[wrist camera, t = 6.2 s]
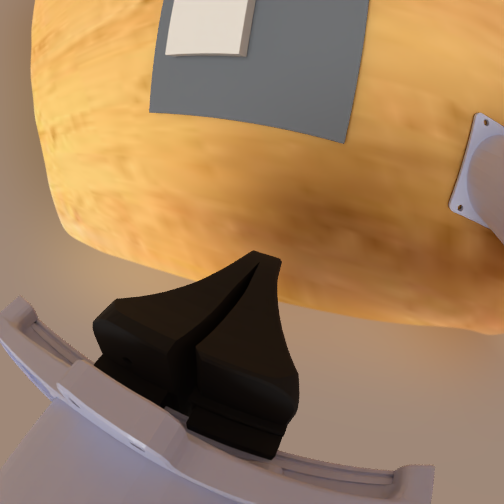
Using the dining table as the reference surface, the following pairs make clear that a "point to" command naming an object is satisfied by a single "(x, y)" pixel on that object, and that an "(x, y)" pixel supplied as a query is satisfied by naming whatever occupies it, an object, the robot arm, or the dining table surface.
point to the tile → (210, 28)
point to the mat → (272, 69)
